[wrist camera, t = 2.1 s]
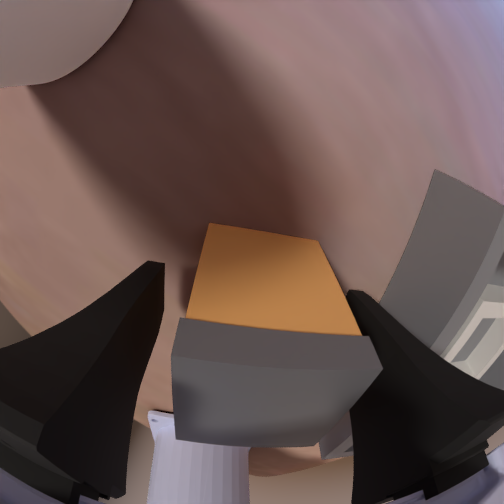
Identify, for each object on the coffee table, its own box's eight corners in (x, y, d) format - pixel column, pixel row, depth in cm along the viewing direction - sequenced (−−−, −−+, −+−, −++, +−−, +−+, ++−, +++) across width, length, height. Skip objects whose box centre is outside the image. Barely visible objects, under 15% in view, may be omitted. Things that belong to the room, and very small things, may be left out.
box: (460, 388, 18) (475, 419, 15) (312, 408, 16) (321, 459, 13) (554, 241, 11) (585, 268, 7) (435, 169, 9) (505, 207, 5)
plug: (291, 321, 12) (313, 446, 7) (196, 309, 12) (175, 439, 6) (320, 238, 10) (383, 369, 5) (206, 219, 10) (171, 355, 4)
